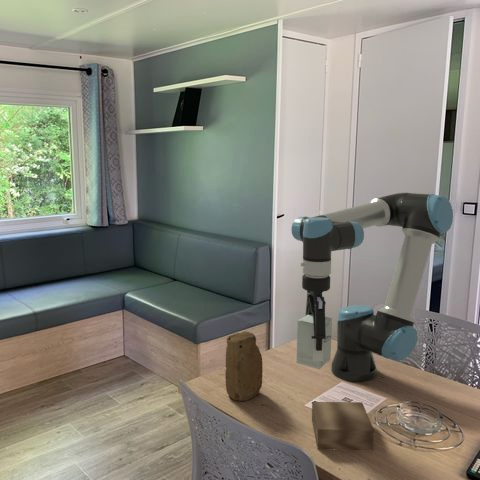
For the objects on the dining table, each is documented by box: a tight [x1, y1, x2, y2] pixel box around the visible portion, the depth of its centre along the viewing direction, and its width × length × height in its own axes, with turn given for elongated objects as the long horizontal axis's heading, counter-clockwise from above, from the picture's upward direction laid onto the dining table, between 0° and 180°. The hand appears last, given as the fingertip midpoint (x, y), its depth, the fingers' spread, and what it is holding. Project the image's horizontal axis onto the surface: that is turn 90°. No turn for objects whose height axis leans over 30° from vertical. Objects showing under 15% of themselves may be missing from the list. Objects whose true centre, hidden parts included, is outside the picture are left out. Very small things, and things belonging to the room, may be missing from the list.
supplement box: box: [296, 314, 333, 370], centre depth 135 cm, size 7×7×13 cm
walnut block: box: [311, 401, 375, 452], centre depth 131 cm, size 14×14×6 cm
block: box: [224, 331, 264, 402], centre depth 151 cm, size 11×8×20 cm
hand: (314, 352), depth 136 cm, fingers closed on supplement box, 10 cm apart
